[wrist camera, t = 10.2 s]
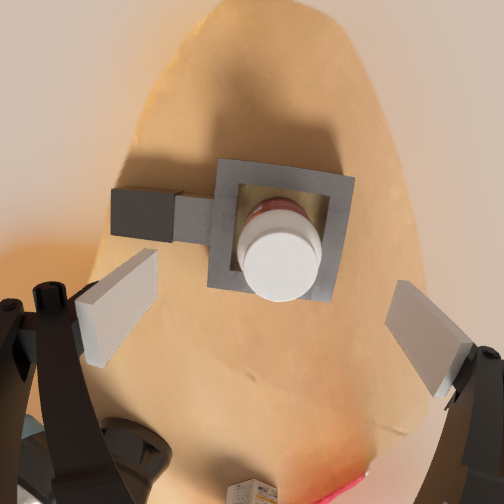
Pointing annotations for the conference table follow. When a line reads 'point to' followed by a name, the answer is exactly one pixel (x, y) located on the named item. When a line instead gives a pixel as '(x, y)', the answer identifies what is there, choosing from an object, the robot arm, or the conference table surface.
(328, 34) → the conference table surface
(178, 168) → the conference table surface
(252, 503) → the container
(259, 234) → the pill bottle
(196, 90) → the conference table surface
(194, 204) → the grey square pan
